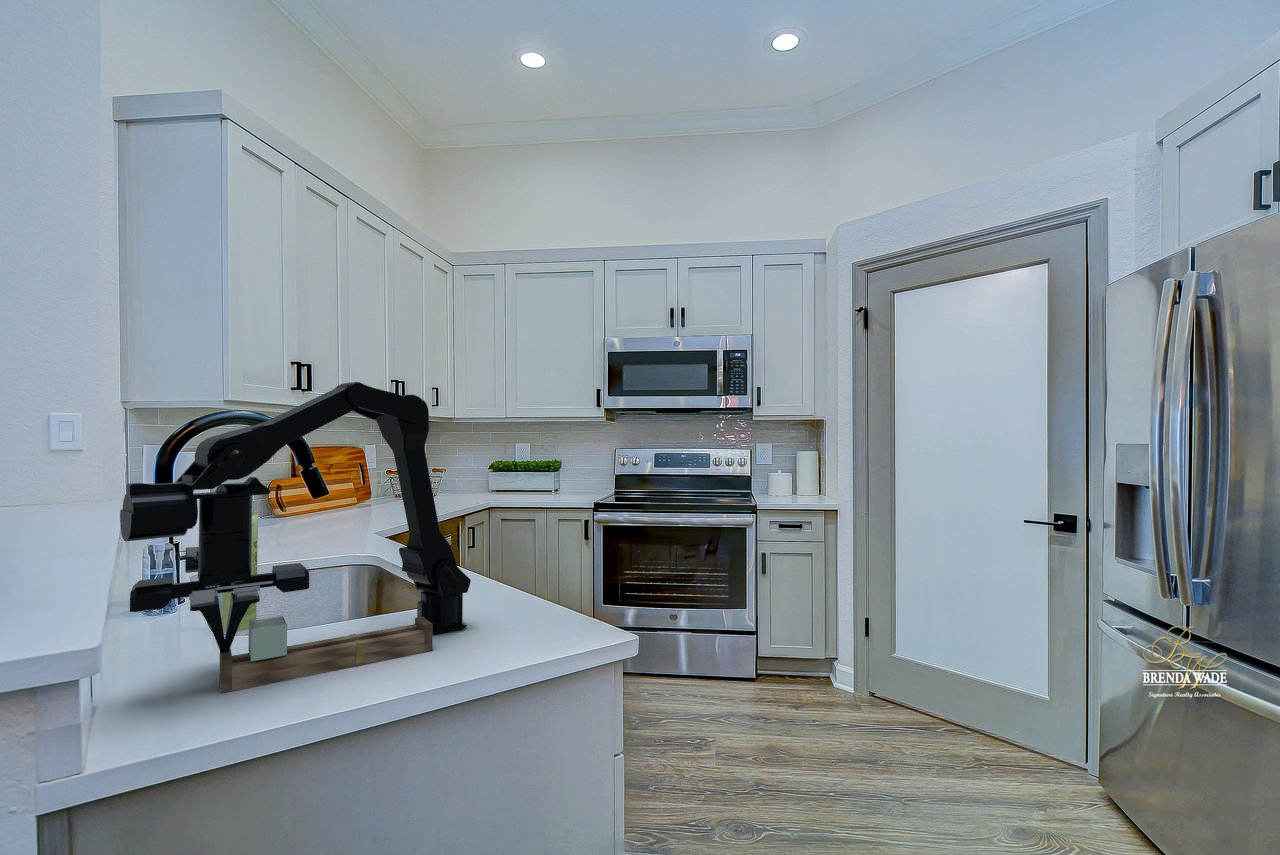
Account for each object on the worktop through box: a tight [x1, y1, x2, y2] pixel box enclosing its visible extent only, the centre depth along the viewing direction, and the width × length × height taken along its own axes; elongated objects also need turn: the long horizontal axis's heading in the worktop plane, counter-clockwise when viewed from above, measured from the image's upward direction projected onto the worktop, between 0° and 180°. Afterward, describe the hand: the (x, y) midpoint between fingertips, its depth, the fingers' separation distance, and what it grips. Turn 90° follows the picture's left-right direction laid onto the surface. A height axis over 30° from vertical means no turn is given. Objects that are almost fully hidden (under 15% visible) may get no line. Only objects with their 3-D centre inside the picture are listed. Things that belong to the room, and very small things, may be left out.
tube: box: [221, 510, 259, 633], centre depth 102 cm, size 6×5×20 cm
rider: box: [247, 615, 288, 661], centre depth 81 cm, size 4×5×6 cm
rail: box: [218, 616, 434, 694], centre depth 86 cm, size 26×5×4 cm, turn 126°
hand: (224, 652), depth 78 cm, fingers closed
